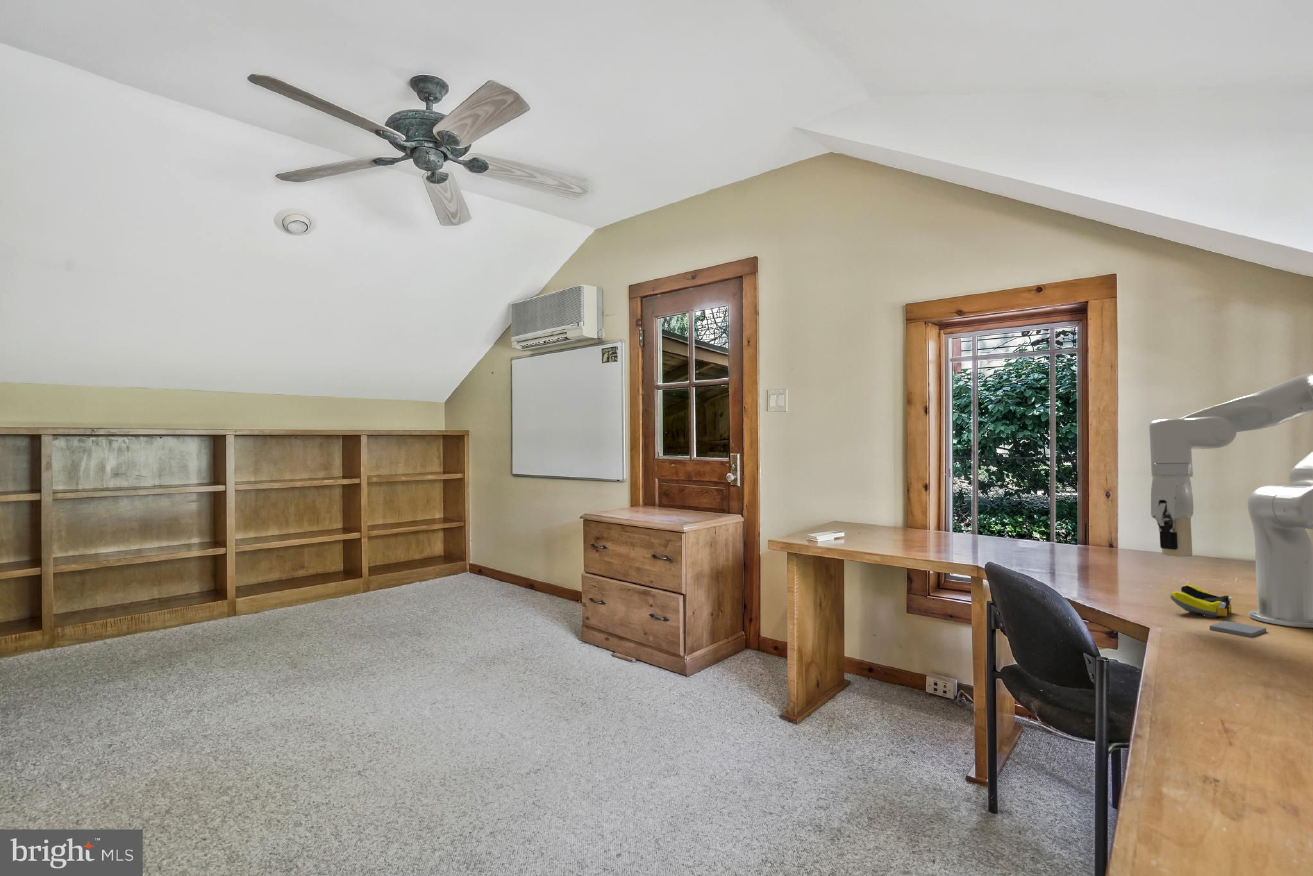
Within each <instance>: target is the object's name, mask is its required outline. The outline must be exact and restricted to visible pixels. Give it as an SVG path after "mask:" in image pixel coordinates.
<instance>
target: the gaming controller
mask: <svg viewBox="0 0 1313 876" xmlns="http://www.w3.org/2000/svg"><path fill="white" fill-rule="evenodd" d="M1180 590H1181V591H1177V590H1176V591H1173V592H1171V593H1170V599H1171V601H1173V602H1174V604H1176V605H1177V606H1179V607H1180V608H1182V610H1185V611H1187V612H1189V613H1194V614H1201V616H1203V615H1205V616H1208V617H1207V618H1212V617H1215V618H1217V617H1228V614H1229V613H1232V611H1233V610H1232V604H1231V602H1232V600H1233V596H1229V595H1221V596H1217V595H1214V594H1212V593H1209V592H1207V591H1206V590H1203V589H1202V588H1199V587H1198V586H1195V585H1191V584H1186V585H1183V586H1181V589H1180ZM1205 616H1204V617H1205Z"/></svg>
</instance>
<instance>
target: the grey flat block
mask: <svg viewBox="0 0 1313 876" xmlns="http://www.w3.org/2000/svg"><path fill="white" fill-rule="evenodd" d="M1209 630H1211V631H1217V632H1221V633H1227V634H1231V635H1237V636H1243V637H1247V636H1248V637H1249V638H1253V637H1255V636H1259V635H1261V634H1264V633H1267V627H1262V626H1256V625H1251V624H1246V623H1245V624H1244V623H1240V622H1235V621H1234V622H1233V621H1228V620H1224V621H1221V622H1217V623H1215V624H1211V625H1209ZM1248 637H1247V638H1248Z"/></svg>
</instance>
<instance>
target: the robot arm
mask: <svg viewBox="0 0 1313 876" xmlns="http://www.w3.org/2000/svg"><path fill="white" fill-rule="evenodd" d="M1309 413H1313V372H1309V373H1304V374H1302V375H1298V376H1295V377H1293V378H1291V379H1288V380H1286V381H1283V382H1281V383H1278V384H1275V385H1273V386H1269V387H1267V388H1266V389H1262V390H1260V391H1257V392H1254V393H1251V394H1249V395H1245V396H1242V397H1238V398H1235V399H1232V400H1230V401H1227V402H1223V403H1220V404H1217V405H1213V406H1209V407H1207V408H1203V409H1201V410H1197V411H1195V412H1193V413H1189V414H1187V415H1185V416H1183V417H1180V418H1165V419H1164V418H1163V419H1155V420H1153V421H1151V422H1150V423H1149V426H1148V427H1149V429H1148V430H1149V449H1150V450H1149V451H1150V467H1151V468H1150V470H1151V477H1152V480H1151V488H1150V489H1151V490H1150V515H1151V518H1152V519H1155V521H1156V522H1157V525H1158V532H1159V546H1160V548H1161V549H1162V548H1163V549H1173V550H1176V549H1178V543H1177V532H1175V525H1176V520H1178V519H1180V518H1182V517H1183V516H1187V517H1188V518H1189V519H1192V517H1193V515H1194V497H1193V487H1192V482H1191V478H1193V477H1194V473H1193V454H1192V450H1193V449H1194V450H1199V449H1200V450H1215V449H1220V448H1224V447H1226V446H1229V445H1230V444H1231V443H1233V441H1235V439H1236V436H1237V433H1242V432H1249V431H1257V430H1261V429H1262V430H1263V429H1267V428H1272V427H1275V426H1279V425H1280V424H1284V423H1286V422H1289V421H1292V420H1293V419H1296V418H1298V417H1301V416H1304V415H1308V414H1309ZM1289 482H1290V484H1279V483H1278V484H1269V485H1268V484H1267V485H1263V486H1260V487H1258V488H1256V489H1255V490H1254V491H1252V493H1250V495H1249V497H1248V498H1247V511H1248V514H1249V517H1250V520H1251V524H1252V527H1253V528H1252V529H1253V535H1254V550H1255V551H1254V552H1255V578H1256V579H1255V580H1256V599H1257V600H1256V602H1257V603H1256V604H1257V609H1252V610H1248V616H1249V617H1250V618H1251V619H1254V620H1256V621H1259V622H1263V623H1267V624H1273V625H1279V626H1285V627H1292V628H1293V627H1295V628H1309V629H1311V628H1313V543H1312V539H1311V538H1310V535H1309V533H1308V531H1307V529H1308V530H1313V450H1312V451H1311V452H1309V454H1307V455H1306V456H1305V457H1304V458H1302V459H1301V460H1299V462H1297V464H1295V465H1294V467H1292V469H1290V473H1289ZM1165 516H1170V517H1171V518H1165ZM1168 522H1171V523H1170V524H1169V523H1168Z"/></svg>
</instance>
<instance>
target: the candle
mask: <svg viewBox="0 0 1313 876" xmlns="http://www.w3.org/2000/svg"><path fill="white" fill-rule="evenodd" d="M1165 518H1171V517H1170V516H1165ZM1191 519H1192V518H1191ZM1191 519H1189V518H1188V517H1187V516H1183V517H1182V518H1180V519H1178V520H1176V525H1175V532H1177V543H1178V549H1176V550H1173V549H1163V548H1161V554H1162V555H1164V556H1169V557H1177V558H1189V557H1193V543H1192V541H1193V540H1192V539H1193V538H1192V520H1191ZM1168 523H1169V524H1170V523H1171V522H1168Z"/></svg>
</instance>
